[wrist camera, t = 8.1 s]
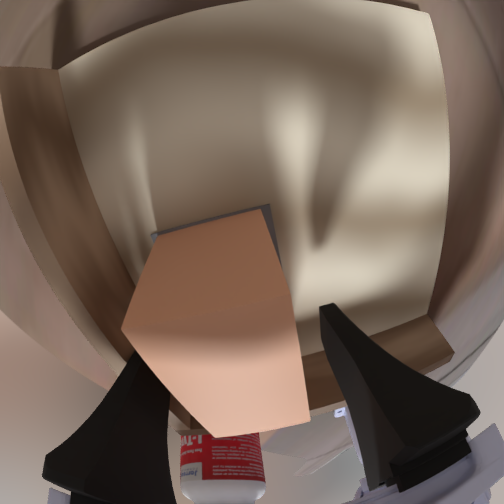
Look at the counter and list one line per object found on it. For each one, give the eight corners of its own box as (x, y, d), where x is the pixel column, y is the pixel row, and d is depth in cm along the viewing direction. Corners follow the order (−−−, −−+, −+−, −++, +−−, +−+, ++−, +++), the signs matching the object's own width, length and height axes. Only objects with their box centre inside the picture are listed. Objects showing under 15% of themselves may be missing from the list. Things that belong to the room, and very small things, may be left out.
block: (157, 236, 11) (120, 329, 6) (260, 208, 11) (290, 293, 6) (213, 353, 15) (215, 437, 10) (288, 337, 15) (310, 421, 10)
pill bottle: (190, 382, 18) (190, 523, 9) (266, 392, 20) (288, 519, 10) (176, 413, 21) (175, 523, 11) (240, 422, 22) (251, 524, 13)
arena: (419, 316, 17) (450, 361, 13) (184, 377, 18) (181, 436, 14) (419, 16, 7) (485, 3, 3) (50, 81, 8) (-20, 84, 3)
